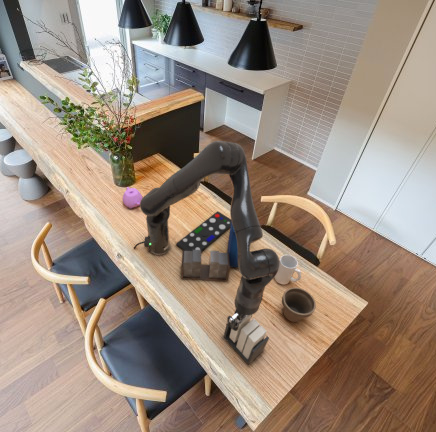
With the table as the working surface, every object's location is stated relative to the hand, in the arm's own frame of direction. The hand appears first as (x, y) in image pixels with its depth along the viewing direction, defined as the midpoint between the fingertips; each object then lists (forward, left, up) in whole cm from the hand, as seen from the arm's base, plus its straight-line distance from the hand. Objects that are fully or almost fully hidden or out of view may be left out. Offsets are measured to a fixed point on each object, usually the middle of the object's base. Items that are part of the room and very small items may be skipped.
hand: (241, 322), depth 103 cm
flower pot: (+22, +11, -12) cm, 27 cm away
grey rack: (-12, +28, -12) cm, 32 cm away
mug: (+22, +26, -12) cm, 36 cm away
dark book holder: (+2, -2, -12) cm, 12 cm away
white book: (0, 0, -10) cm, 10 cm away
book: (+2, +41, -12) cm, 42 cm away
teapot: (-50, +70, -12) cm, 87 cm away
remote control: (-11, +50, -12) cm, 53 cm away
